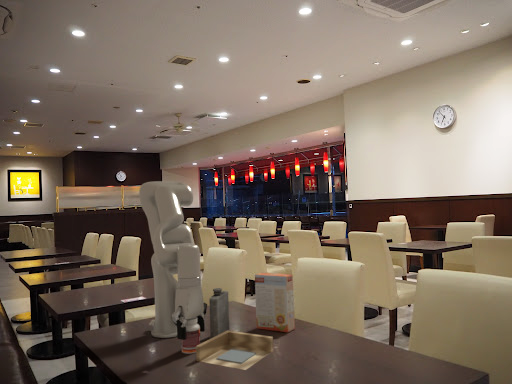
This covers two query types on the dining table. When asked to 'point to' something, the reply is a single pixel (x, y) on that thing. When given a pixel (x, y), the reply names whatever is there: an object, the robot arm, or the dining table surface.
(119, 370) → the dining table surface
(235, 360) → the slate pad
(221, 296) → the flask
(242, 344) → the wooden corner stand
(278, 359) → the dining table surface
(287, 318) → the cracker box
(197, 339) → the pill bottle
